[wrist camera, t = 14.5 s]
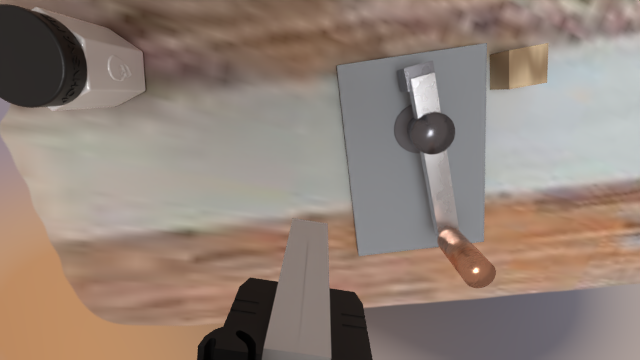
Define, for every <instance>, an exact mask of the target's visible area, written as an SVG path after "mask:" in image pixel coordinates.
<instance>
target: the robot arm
mask: <svg viewBox="0 0 640 360" xmlns="http://www.w3.org/2000/svg"><path fill="white" fill-rule="evenodd" d="M197 360H372V354H371V349H370V343H369V337H368V332H367V326H366V321H365V315H364V309H363V304H362V302H361V301H360V299H359V298H358V296H357V295H356V293H355V292H350V291H343V290H337V289H330V288H329V256H328V224H327V223H321V222H314V221H308V220H302V219H295V218H293V220H292V224H291V229H290V233H289V238H288V242H287V246H286V251H285V255H284V260H283V264H282V269H281V273H280V277H279V282H276V281H269V280H263V279H256V278H249V279H248V280H247V281H246V282H245V283H243V284H242V285H241V286H240V287H239V290H238V292H237V295H236V297H235V300H234V302H233V304H232V307H231V309H230V312H229V314H228V317H227V319H226V321H225V324H224V326H223V327H221V328H218V329H215V330H213V331H212V332H210V333H209V334H208V335H206V336H205V337H204V338H203V340H202V341H201V343H200V344H199V345H198V356H197Z"/></svg>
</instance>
